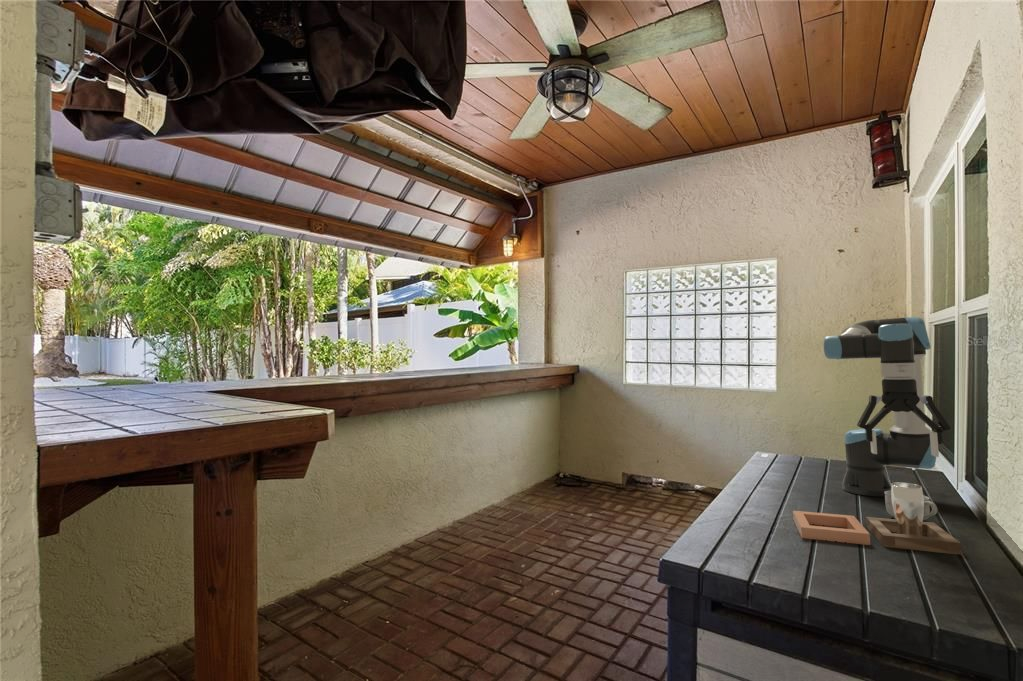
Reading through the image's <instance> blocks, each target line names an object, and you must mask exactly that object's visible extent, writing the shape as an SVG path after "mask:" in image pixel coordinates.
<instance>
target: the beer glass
mask: <svg viewBox="0 0 1023 681" xmlns="http://www.w3.org/2000/svg"><path fill="white" fill-rule="evenodd" d="M890 484H891V500H892V506H893V510H894V514H895V517H896V521H897V532H895V534H905V535H916V536H924V535H923V533H922V521H923V514H924V498H923V495H924V493H923V492H924V491H923V486H922V485H919V484H915V483H912V482H904V481H903V482H902V481H896V482H890ZM923 522H924V521H923Z"/></svg>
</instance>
